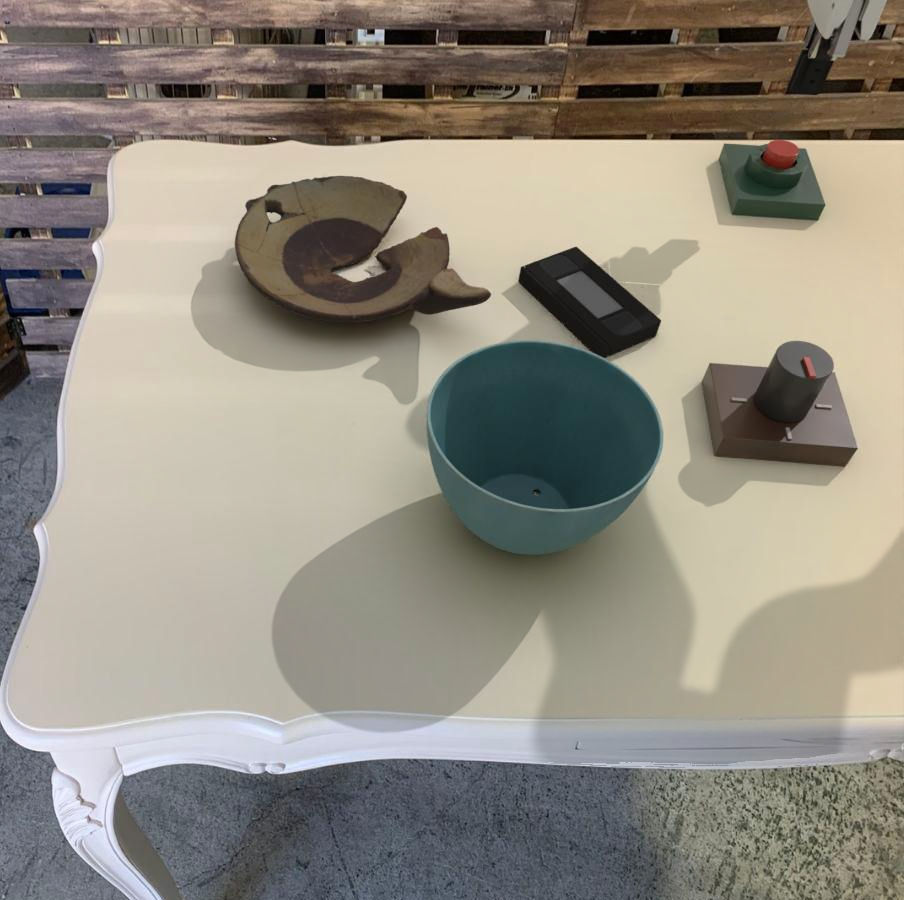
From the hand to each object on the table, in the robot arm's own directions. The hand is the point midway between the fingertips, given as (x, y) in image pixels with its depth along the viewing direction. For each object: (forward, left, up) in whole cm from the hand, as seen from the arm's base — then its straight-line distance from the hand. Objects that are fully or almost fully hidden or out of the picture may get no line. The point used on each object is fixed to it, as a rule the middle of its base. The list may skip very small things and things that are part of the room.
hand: (803, 90), depth 100 cm
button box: (0, 0, -12) cm, 12 cm away
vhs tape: (+23, +25, -12) cm, 36 cm away
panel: (+6, +40, -12) cm, 42 cm away
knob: (+6, +40, -10) cm, 42 cm away
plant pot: (+30, +54, -12) cm, 63 cm away
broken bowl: (+48, +25, -12) cm, 55 cm away
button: (0, 0, -8) cm, 8 cm away
